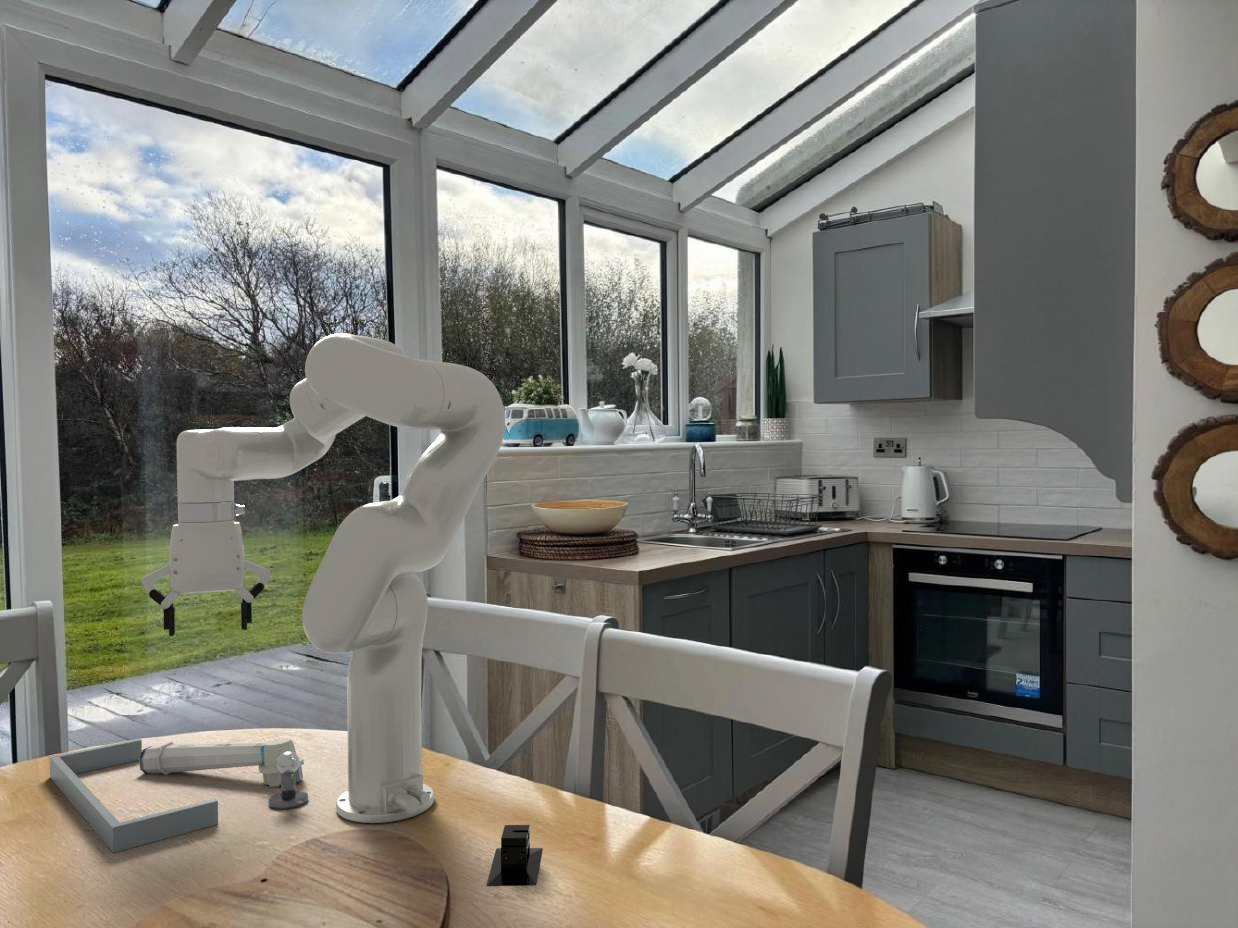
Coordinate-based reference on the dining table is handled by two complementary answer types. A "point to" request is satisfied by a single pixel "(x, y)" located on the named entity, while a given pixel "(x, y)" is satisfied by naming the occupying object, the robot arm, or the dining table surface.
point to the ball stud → (288, 784)
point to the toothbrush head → (219, 758)
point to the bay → (103, 819)
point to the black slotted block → (515, 859)
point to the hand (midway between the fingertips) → (208, 631)
